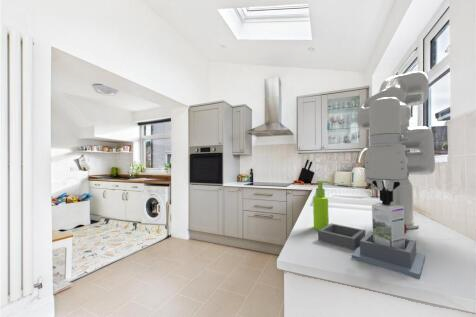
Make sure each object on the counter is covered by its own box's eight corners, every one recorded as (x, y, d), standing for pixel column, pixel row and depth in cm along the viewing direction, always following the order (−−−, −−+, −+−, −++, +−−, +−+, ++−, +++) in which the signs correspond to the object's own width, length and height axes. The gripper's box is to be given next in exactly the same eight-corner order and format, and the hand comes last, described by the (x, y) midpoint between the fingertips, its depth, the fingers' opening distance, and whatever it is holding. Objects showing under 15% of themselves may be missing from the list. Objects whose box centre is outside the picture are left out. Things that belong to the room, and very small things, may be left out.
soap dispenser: (332, 231, 83) (330, 181, 83) (313, 229, 85) (312, 181, 85) (330, 227, 88) (329, 180, 89) (313, 225, 91) (312, 180, 91)
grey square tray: (331, 232, 82) (331, 223, 82) (365, 239, 73) (365, 230, 73) (318, 240, 74) (318, 230, 74) (354, 250, 65) (354, 239, 65)
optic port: (366, 243, 70) (365, 228, 70) (425, 257, 59) (424, 240, 60) (351, 258, 60) (350, 240, 60) (419, 278, 49) (419, 257, 49)
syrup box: (406, 256, 58) (404, 205, 58) (392, 260, 56) (390, 207, 56) (385, 248, 63) (384, 201, 64) (372, 252, 61) (371, 203, 62)
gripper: (420, 140, 58) (422, 205, 57) (360, 143, 68) (361, 199, 68) (417, 138, 52) (419, 210, 52) (352, 142, 63) (354, 202, 63)
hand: (386, 203), depth 60 cm, fingers closed
